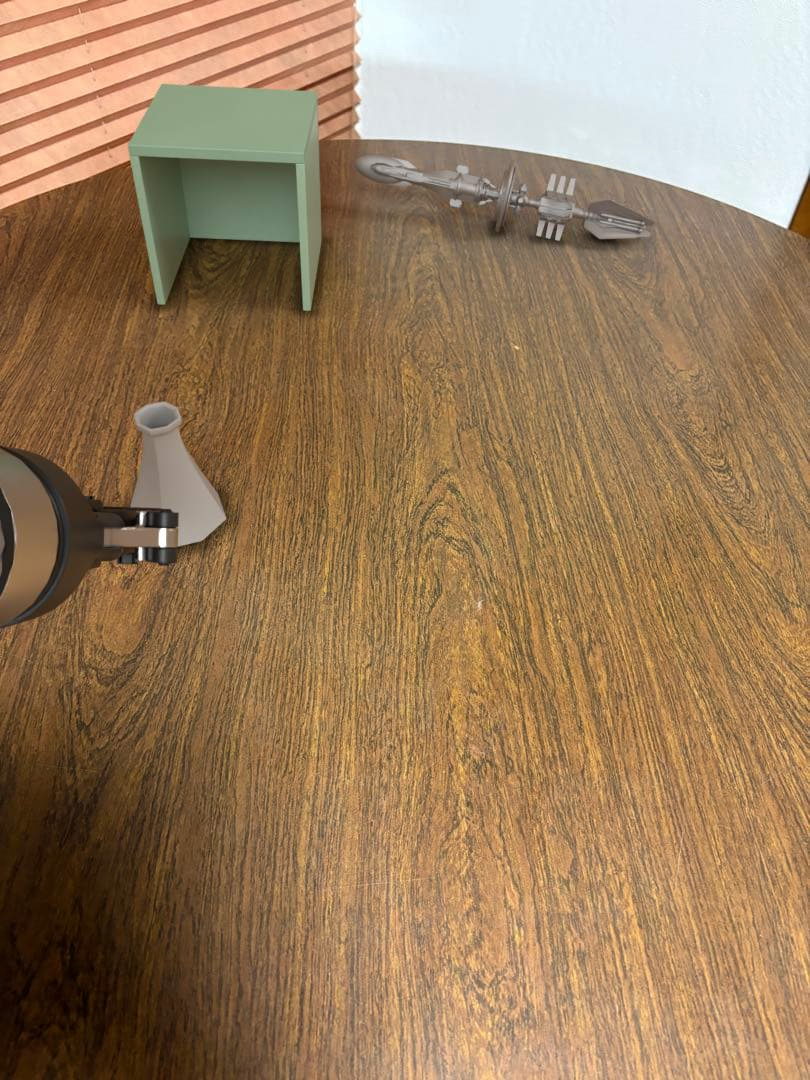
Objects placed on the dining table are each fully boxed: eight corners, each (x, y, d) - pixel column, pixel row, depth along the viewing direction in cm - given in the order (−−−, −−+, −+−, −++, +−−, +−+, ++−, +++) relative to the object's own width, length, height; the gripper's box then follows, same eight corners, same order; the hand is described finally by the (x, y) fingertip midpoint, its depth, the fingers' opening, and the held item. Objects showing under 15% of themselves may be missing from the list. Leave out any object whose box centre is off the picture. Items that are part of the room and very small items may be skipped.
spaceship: (365, 126, 101) (355, 124, 94) (656, 191, 101) (668, 194, 93) (354, 197, 104) (343, 201, 97) (635, 260, 104) (646, 268, 97)
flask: (159, 565, 64) (134, 464, 56) (114, 510, 67) (85, 408, 60) (243, 522, 67) (229, 422, 60) (195, 472, 71) (177, 372, 63)
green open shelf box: (310, 311, 88) (304, 153, 76) (157, 304, 87) (127, 144, 76) (321, 240, 98) (317, 91, 86) (184, 234, 98) (161, 83, 86)
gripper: (-206, 628, 33) (40, 581, 57) (133, 639, 33) (237, 587, 57) (-203, 434, 33) (43, 467, 57) (138, 447, 33) (241, 474, 57)
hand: (140, 527), depth 57 cm, fingers closed
